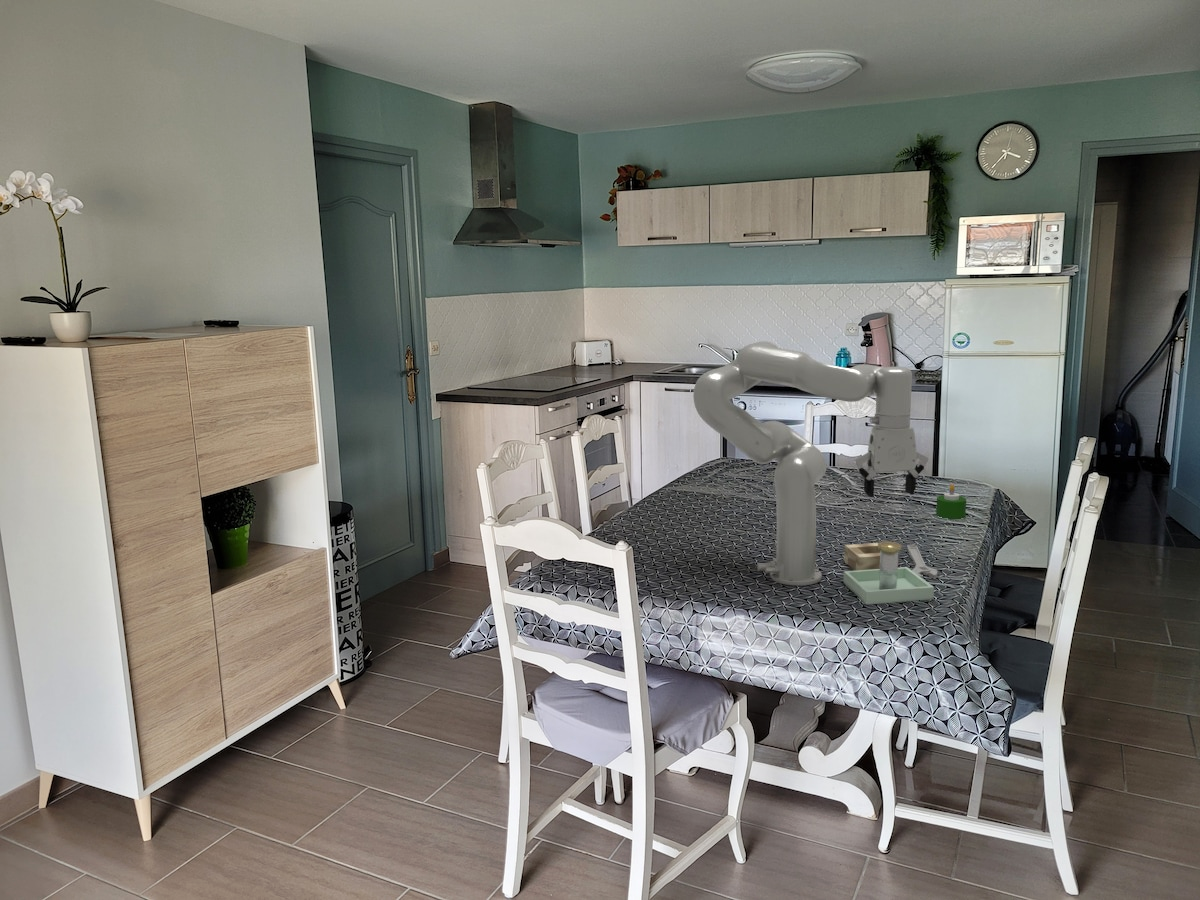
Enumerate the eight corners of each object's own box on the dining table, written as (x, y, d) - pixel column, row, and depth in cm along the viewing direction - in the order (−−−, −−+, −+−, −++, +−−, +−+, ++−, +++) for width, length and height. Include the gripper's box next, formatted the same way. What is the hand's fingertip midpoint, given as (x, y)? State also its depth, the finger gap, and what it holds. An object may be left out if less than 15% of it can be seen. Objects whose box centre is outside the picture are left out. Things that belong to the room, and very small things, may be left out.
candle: (937, 519, 263) (938, 487, 261) (934, 511, 271) (936, 480, 269) (967, 520, 261) (968, 488, 259) (963, 512, 269) (965, 481, 266)
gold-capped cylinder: (881, 593, 205) (883, 548, 203) (872, 585, 210) (874, 541, 208) (903, 592, 206) (905, 547, 203) (893, 584, 211) (895, 540, 209)
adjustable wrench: (905, 549, 238) (906, 543, 238) (931, 551, 237) (931, 544, 236) (911, 581, 215) (911, 574, 214) (939, 583, 213) (939, 576, 213)
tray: (866, 604, 200) (866, 592, 200) (843, 583, 214) (843, 571, 214) (933, 599, 202) (933, 587, 201) (906, 578, 216) (906, 567, 215)
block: (859, 574, 220) (859, 557, 219) (844, 561, 229) (844, 545, 228) (897, 571, 220) (898, 554, 220) (881, 558, 230) (881, 542, 229)
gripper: (862, 426, 195) (859, 500, 199) (936, 422, 197) (933, 496, 200) (849, 420, 203) (847, 492, 206) (921, 417, 204) (918, 488, 208)
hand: (889, 494), depth 203 cm, fingers open, 9 cm apart
